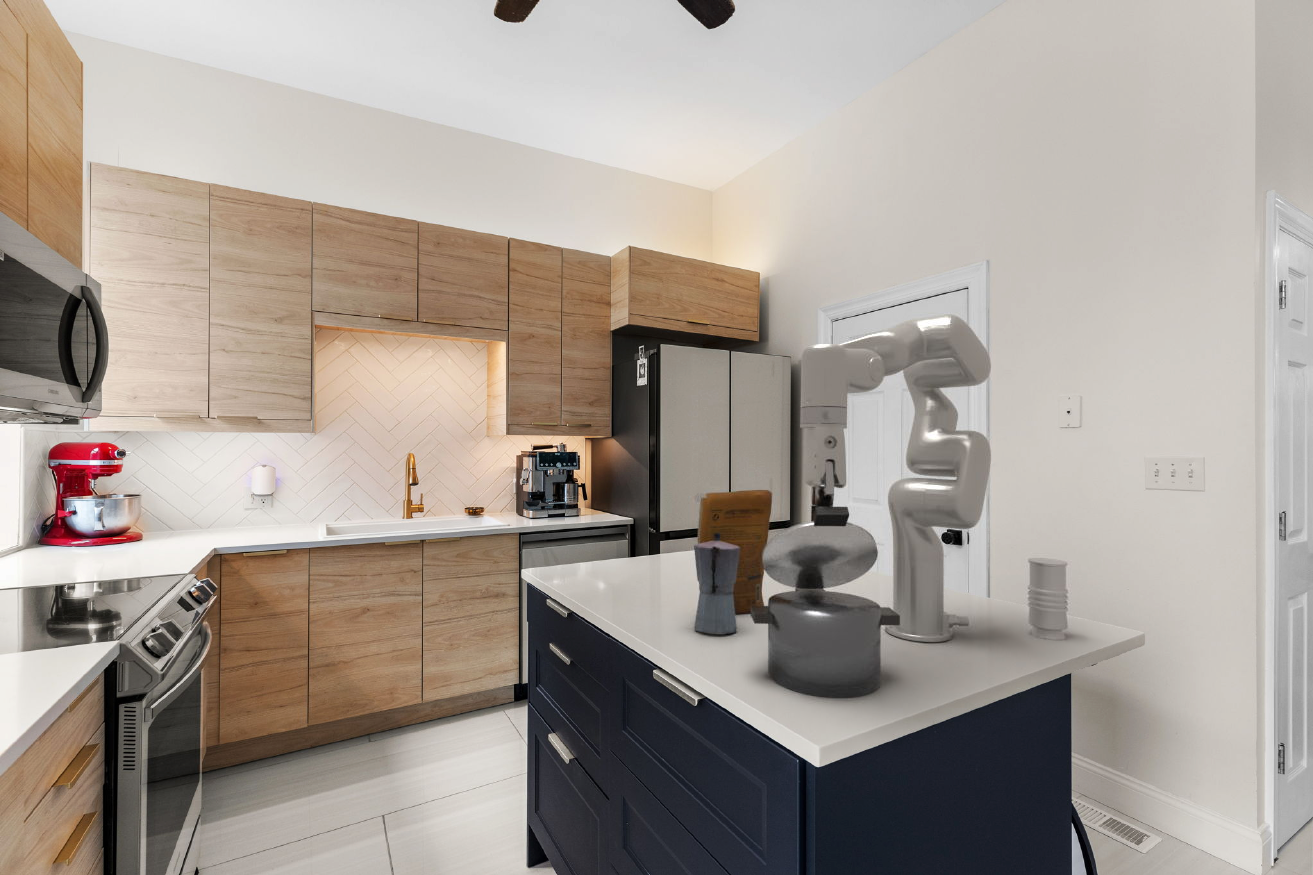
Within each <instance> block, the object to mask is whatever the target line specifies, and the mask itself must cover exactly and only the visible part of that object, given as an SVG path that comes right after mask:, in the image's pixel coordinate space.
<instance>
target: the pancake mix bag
mask: <svg viewBox="0 0 1313 875" xmlns="http://www.w3.org/2000/svg"><path fill="white" fill-rule="evenodd" d="M772 504H773V492H772V491H770V490H769V489H749V490H748V489H747V490H738V491H737V490H736V491H730V492H729V491H727V492H725V491H724V492H723V491H721V492H720V491H719V492H707V493H705V497H701V499H700V504H699V510H698V512H699V517H698V528H697V544H700V543H705V542H710V541H714V540H715V539H714V533H720V534H721V536H720V541H722V542H726V543H729V544H732V545H735V546H738V547H740V553H739V560H738V567H737V575H736V582H735V583H734V589H733V598H734V608H735V615H741V614H751V606H765V602H764V599H763V597H764V596H763V580H764V575H765V570H764V567H763V561H762V553H763V550H764V547H765V546H766V544H767V543H768V541H769V531H770V529H769V528H770V519H771V515H772V508H773V507H772Z"/></svg>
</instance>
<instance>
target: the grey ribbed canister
mask: <svg viewBox="0 0 1313 875" xmlns="http://www.w3.org/2000/svg"><path fill="white" fill-rule="evenodd" d="M1027 562H1028V563H1029V585H1027V590H1028V591H1027V595H1028V597H1027V601H1028V602H1027V606H1028V607H1029V610H1028V622H1027V623H1028V624H1029V625H1030V626H1032V627H1033V628H1032V630H1031V631H1030V634H1031V635H1032V636H1034V637H1036V638H1040V639H1045V638H1046V639H1045V640H1053V641H1057V640H1059V641H1060V640H1061V641H1062V640H1064V638H1065V639H1066V636H1065V634H1064V632H1063V631H1064V630H1067V629H1068V627H1069V626H1068V618H1067V612H1068V611H1069V608H1068V605H1069V603H1068V600H1069V597H1068V593H1069V591H1068V589H1067V566H1068V562H1067V561H1065V560H1061V559H1055V558H1045V557H1032V558H1028V559H1027Z"/></svg>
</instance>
